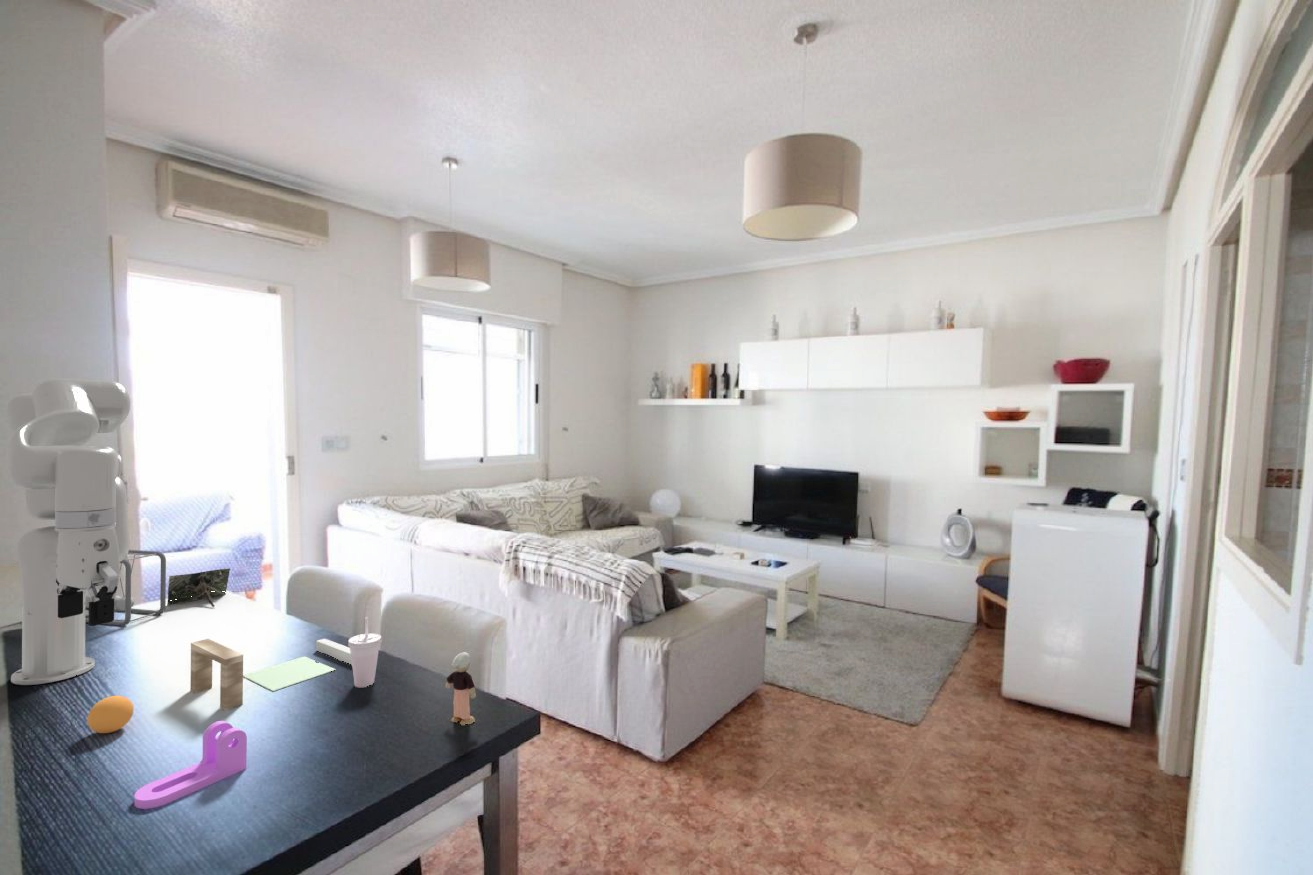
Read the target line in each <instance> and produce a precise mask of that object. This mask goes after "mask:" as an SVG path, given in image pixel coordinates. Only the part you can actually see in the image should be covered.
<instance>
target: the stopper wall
mask: <svg viewBox="0 0 1313 875" xmlns="http://www.w3.org/2000/svg"><path fill="white" fill-rule="evenodd" d="M316 650H317V651H319V652H322V653H326V654H328V655H330V656H332V657H334V658H333V659H335V658H336V659H335V660H337V659H338V661H340V662H342V661H344V662H343V663H345V662H346V663H345V664H347V663H349V664H348V665H350V664H351V665H350V666H352V660H351V652H350V647H349V646H346V645H344V644H341V643H337V642H335V641H332V640H331V639H328V638H321V639H318V640H316V641H315V651H316ZM317 651H316V652H317ZM319 652H318V653H319ZM322 653H321V654H322ZM330 656H329V657H330ZM332 657H331V658H332Z"/></svg>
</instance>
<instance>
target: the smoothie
mask: <svg viewBox="0 0 1313 875" xmlns="http://www.w3.org/2000/svg"><path fill="white" fill-rule="evenodd" d="M364 621H365V624H364V628H365V629H364V630H365V632H364V633H362V634H361V633H360V634H357V635H354V636H352V637H350V638H349V639H348V640H347V642H348V644H347V647H349V648H350V652H351V660H352V665H351V667H352V674H353V684H354V687H355V688H359V689H360V688H367V686H368V687H370V686H369V685H371V686H372V685H373V683H374V684H375V680H376V679H375V678H376V672H377V665H378V658H379V651H380V644H381V643H382V636H381V634H379V633H374V632H373V633H372V632H371V633H369V616H365V620H364Z"/></svg>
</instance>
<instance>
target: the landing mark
mask: <svg viewBox="0 0 1313 875" xmlns="http://www.w3.org/2000/svg"><path fill="white" fill-rule="evenodd" d="M315 661H316V660H315V659H312V658H310V657H307V656H305V655H304V656H301V657H297V658H295V659H291V660H288V661H285V662H281V663H278V664H276V665H275V664H274V665H272V666H269V667H266V668H262V669H258V670H256V671H253V672H252V671H251V672H248V673H245V674H243V678H245V679H247V680H248V681H251V682H253V683H255V684H257V685H259V686H260V687H263V688H265V689H268V690H269V691H271V692H276V691H279V690H281V689H285V688H287V687H291V686H293V685H296V684H299V683H302V682H305V681H309V680H311V679H314V678H318V677H319V676H323V675H325V674H328V673H332V672H335V671H337V669H336V668H335V667H331V666H329V665H327V664H324V663H323V662H319V663H316V662H315ZM334 670H335V671H334ZM331 671H332V672H331Z"/></svg>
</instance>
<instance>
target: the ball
mask: <svg viewBox="0 0 1313 875" xmlns="http://www.w3.org/2000/svg"><path fill="white" fill-rule="evenodd" d="M134 710H135V708H134V704H133V702H132V700H130V699H129V698H128V697H125V696H123V695H112V696H107V697H104V698H102V699H101V700H99V701H98V702H96V703H95V704H94V705H93V706H92V707H91V709H89V713H88V715H87V720H86V721H87V724H88V727H89V728H90V730H92V731H93V732H94V733H98V734H110V733H113V732H116V731H119V730H120V729H122V728H123V727H125V726H126V725H127V724H128V723H129V721H131V719H132V718H133V715H134Z"/></svg>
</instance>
